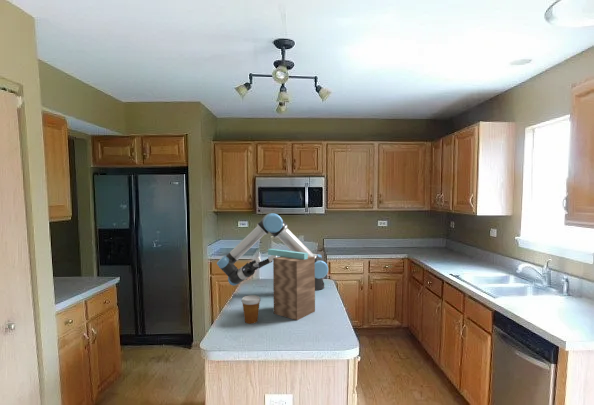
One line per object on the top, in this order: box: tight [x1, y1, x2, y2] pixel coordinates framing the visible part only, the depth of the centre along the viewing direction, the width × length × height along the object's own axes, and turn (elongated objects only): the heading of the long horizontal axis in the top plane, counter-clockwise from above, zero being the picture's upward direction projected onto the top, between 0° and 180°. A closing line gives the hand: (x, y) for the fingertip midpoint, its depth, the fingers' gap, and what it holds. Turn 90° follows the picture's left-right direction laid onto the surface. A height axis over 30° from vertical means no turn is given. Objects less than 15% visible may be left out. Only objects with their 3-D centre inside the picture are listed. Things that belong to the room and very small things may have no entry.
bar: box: [267, 248, 308, 260], centre depth 178 cm, size 26×3×3 cm, turn 52°
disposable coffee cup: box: [241, 294, 261, 325], centre depth 163 cm, size 10×10×12 cm
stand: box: [272, 256, 316, 321], centre depth 175 cm, size 16×16×30 cm
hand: (268, 256), depth 186 cm, fingers open, 13 cm apart
